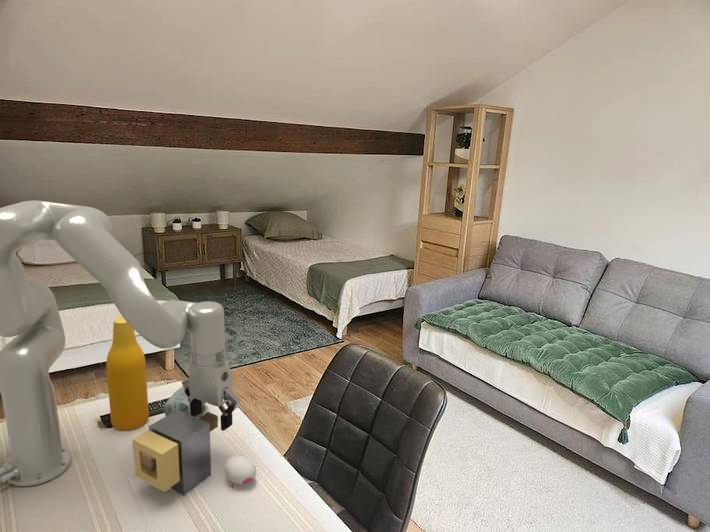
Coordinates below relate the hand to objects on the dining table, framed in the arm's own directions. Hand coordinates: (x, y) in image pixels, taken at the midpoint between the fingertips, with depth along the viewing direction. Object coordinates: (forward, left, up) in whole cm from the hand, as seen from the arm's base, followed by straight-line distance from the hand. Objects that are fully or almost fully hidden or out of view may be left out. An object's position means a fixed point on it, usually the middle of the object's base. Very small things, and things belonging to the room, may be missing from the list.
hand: (211, 421), depth 116 cm
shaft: (-9, 0, -1) cm, 9 cm away
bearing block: (-9, 0, -9) cm, 13 cm away
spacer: (-16, 0, -5) cm, 17 cm away
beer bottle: (-1, +28, -10) cm, 30 cm away
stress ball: (-3, -12, -10) cm, 15 cm away
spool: (+9, +18, -10) cm, 23 cm away
